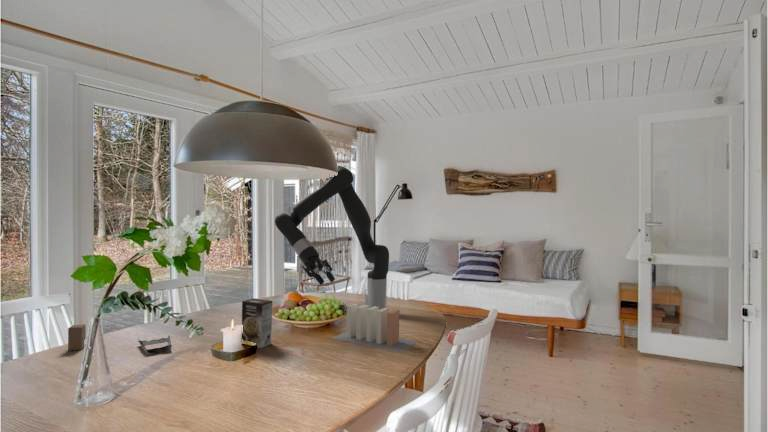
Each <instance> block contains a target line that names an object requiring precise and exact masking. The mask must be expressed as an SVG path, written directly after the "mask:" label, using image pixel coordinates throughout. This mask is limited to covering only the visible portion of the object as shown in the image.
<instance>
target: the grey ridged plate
mask: <svg viewBox="0 0 768 432" xmlns="http://www.w3.org/2000/svg"><path fill="white" fill-rule="evenodd" d="M332 339H333V340H338V341H344V342H348V343H354V344H358V345H363V346H368V347H372V348H377V349H380V350H381V349H382V350H387V351H391V352H395V353H396V352H397V353H403V352H405V351H406V350H407V349H409V348H410V347H412V346H414V345H415V344H417V343H418V342H419V341H417V340H413V339H412V340H411V339H406V338H401V337H399V342H397V343H396V344H394V345H392V346H388V345H387V341H385V342H383V343H382V344H378V343H376V339H375V340H373V341H371V342H368V341H366V337H365V338H363V339H361V340H358V339H356V335H355V336H353V337H351V338H348V337H346V331H345V332H343V333H340V334H338V335H335V336H333V337H332Z"/></svg>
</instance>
